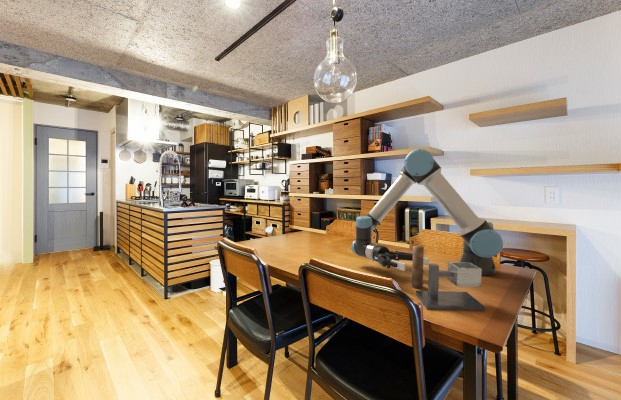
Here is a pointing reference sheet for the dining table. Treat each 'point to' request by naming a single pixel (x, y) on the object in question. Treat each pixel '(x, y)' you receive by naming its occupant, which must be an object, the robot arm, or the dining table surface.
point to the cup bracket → (445, 300)
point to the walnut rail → (417, 267)
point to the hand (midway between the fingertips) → (416, 264)
